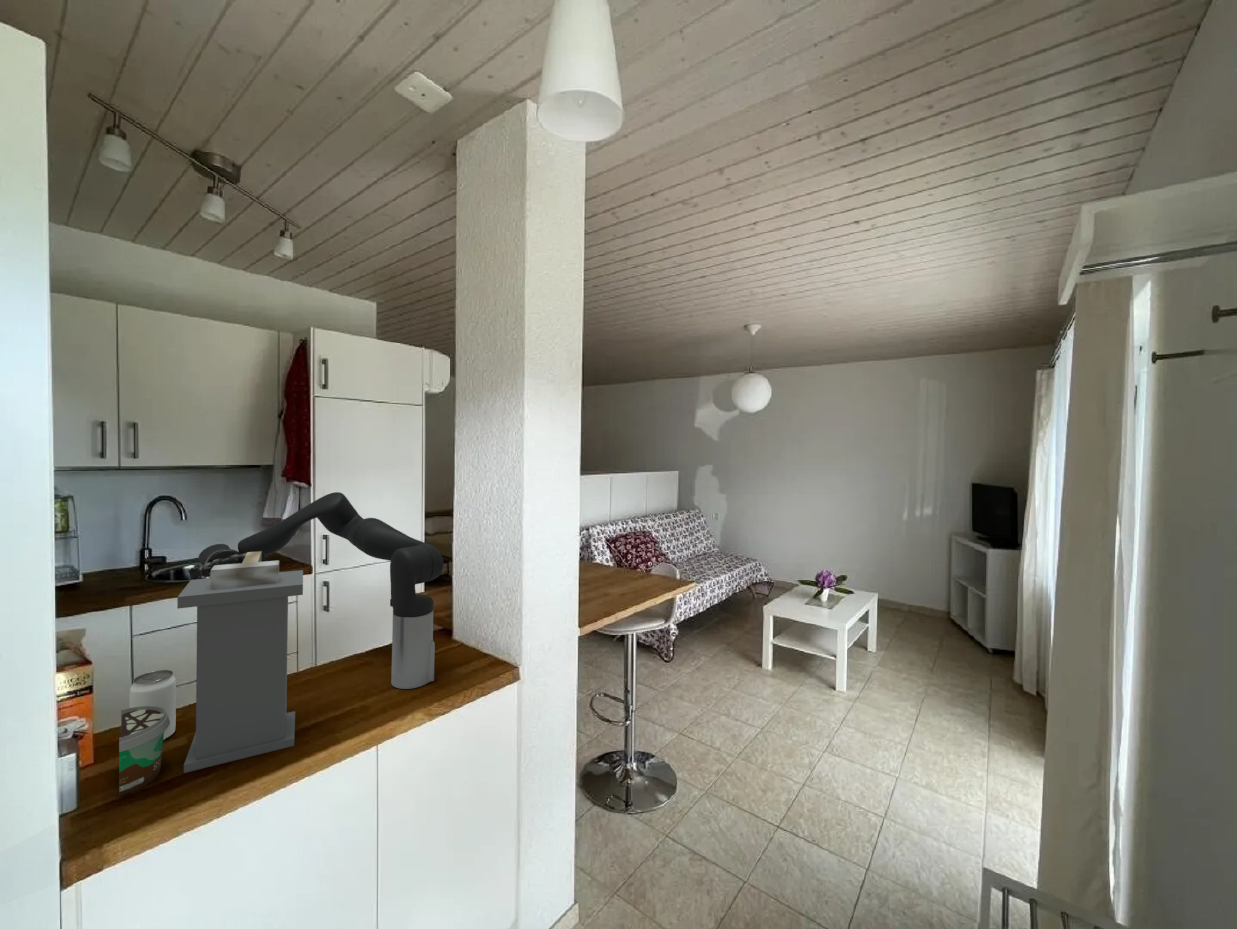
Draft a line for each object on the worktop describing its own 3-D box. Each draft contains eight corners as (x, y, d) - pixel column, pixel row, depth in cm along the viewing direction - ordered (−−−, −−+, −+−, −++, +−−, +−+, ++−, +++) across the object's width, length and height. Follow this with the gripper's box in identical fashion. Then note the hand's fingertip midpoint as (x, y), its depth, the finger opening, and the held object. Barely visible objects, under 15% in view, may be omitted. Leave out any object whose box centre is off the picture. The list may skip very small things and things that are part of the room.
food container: (171, 784, 83) (171, 725, 82) (118, 801, 78) (119, 739, 78) (168, 750, 91) (168, 697, 91) (120, 764, 87) (121, 708, 87)
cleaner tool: (281, 560, 111) (282, 545, 111) (278, 583, 94) (278, 564, 94) (225, 565, 105) (225, 549, 105) (210, 589, 88) (210, 570, 88)
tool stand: (300, 714, 104) (303, 570, 104) (300, 744, 94) (302, 584, 93) (189, 739, 95) (191, 579, 94) (176, 775, 85) (177, 597, 84)
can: (147, 750, 91) (147, 686, 91) (120, 744, 92) (120, 681, 92) (184, 730, 97) (184, 671, 97) (158, 726, 99) (158, 667, 98)
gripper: (262, 569, 129) (271, 571, 117) (192, 588, 119) (194, 593, 107) (255, 541, 129) (263, 540, 117) (184, 559, 119) (185, 559, 107)
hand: (230, 565), depth 112 cm, fingers open, 8 cm apart
